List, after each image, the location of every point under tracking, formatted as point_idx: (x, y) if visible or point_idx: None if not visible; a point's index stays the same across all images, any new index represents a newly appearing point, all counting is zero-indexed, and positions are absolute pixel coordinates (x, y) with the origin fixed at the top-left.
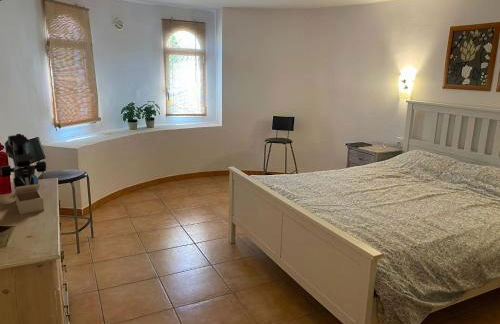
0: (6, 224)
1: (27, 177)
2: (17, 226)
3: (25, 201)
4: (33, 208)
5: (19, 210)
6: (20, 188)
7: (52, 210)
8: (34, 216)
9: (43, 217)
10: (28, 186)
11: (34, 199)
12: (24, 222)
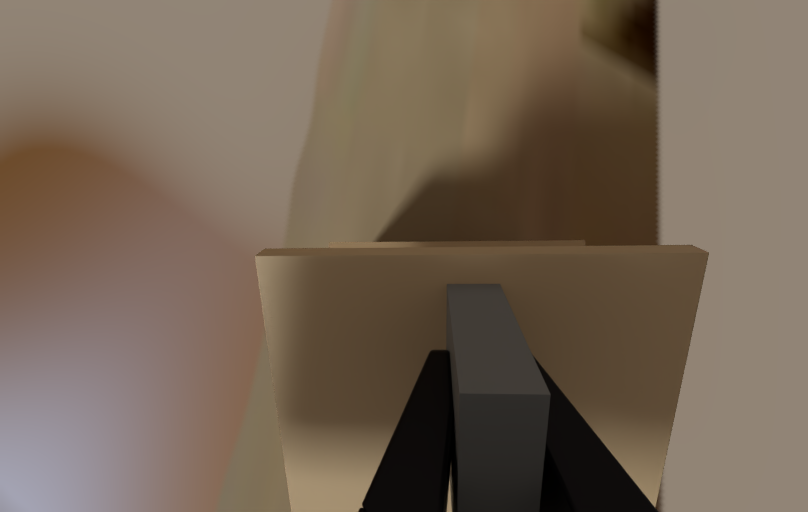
0: (645, 104)
1: (476, 391)
2: (574, 23)
3: (508, 241)
4: None
5: None
6: (600, 313)
7: (303, 221)
8: (445, 161)
9: (391, 102)
10: (470, 248)
11: (414, 243)
12: (524, 74)
